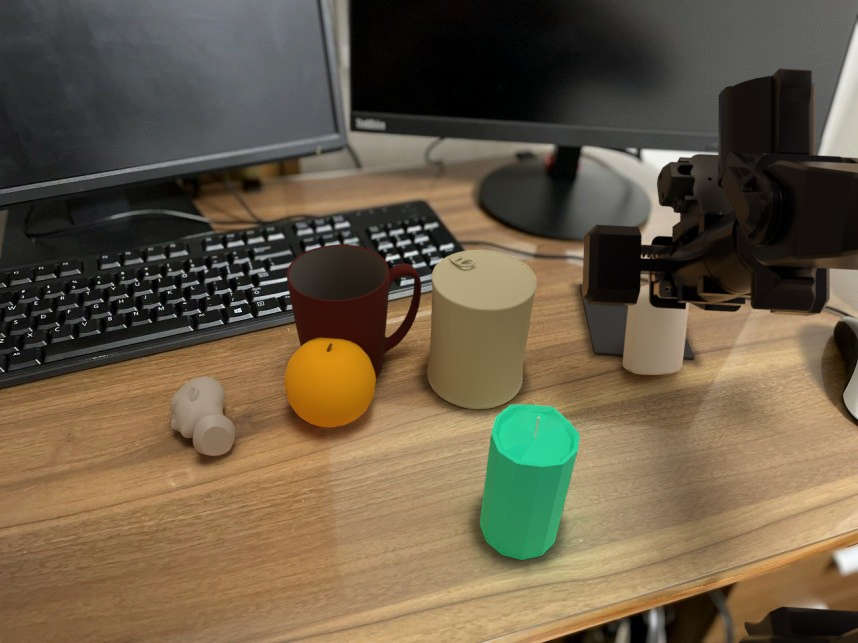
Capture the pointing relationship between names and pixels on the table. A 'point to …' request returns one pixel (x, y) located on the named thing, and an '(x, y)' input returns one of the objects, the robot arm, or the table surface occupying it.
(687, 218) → the robot arm
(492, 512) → the candle
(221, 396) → the pale two-lobed sculpture
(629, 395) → the table surface
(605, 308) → the felt mat
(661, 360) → the eye dropper bottle
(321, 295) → the mug
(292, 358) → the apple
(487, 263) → the can
